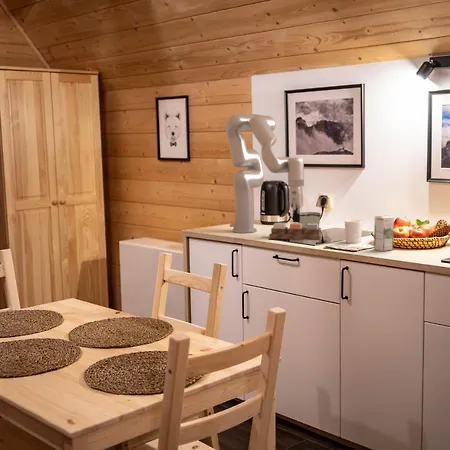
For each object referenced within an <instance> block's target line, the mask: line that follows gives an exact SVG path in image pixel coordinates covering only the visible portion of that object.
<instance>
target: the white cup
mask: <svg viewBox="0 0 450 450" xmlns="http://www.w3.org/2000/svg"><path fill="white" fill-rule="evenodd" d="M363 223H364V221H363V220H362V219H345V220H344V230H345V233H344V234H345V243H347V244H361V243H362V234H363Z"/></svg>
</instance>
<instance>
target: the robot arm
mask: <svg viewBox="0 0 450 450" xmlns="http://www.w3.org/2000/svg"><path fill="white" fill-rule="evenodd" d="M224 127H225V133H226V134H225V135H226V137H227V140H228V146H229V152H230V158H231V163H232V165H233V166H234V167H235V168H238V169H239V170H238V171H235V172H234V173H233V176H232V186H233V192H234V222H230V224H229V227H230V228H231V227H232V230H231V231H232V233H239V234H243V233H244V234H246V233H247V234H248V233H249V234H251V233H256V232H258V231H257V230H258V229H257V228H256V227H254V195H253V193H252V190H251V189H254V188H255V189H256V188H260V187H261V186H262V185H263V184H264V181H265V180H264V169H263V164H262V162H263V163H264V165H265V166H266V169H268V170H269V172H271V173H272V174H287V188H290V189H289V207H290V208H292V223H299V222H300V209H301V208H303V207H304V190H303V188H304V187H305V174H304V173H305V172H304V169H305V167H304V166H305V165H304V164H305V161H304V159H303V158H302V157H290V156H282V157H281V156H279V157H276V155H275V154H274V152H273V150H272V147H273V146H274V145H275V144H276V143H277V140H278V139H277V136H276V135H275V133H274V130H275V129H276V121H275V119H274V118H273V117H272V116H270V115H263V114H254V113H235V114H232V115H230V116H229V117H228V118H227V120H226V121H225V126H224ZM242 131H244V132H247V131H251V133H252V134H253V136H254V137H255V139H256V140H257V141H258V143H259V145H260V146H261V149H260V153H259V152H258V151H257V150H256V149H253V148H248V146H247V143H246V139H245V137H244V135H243V134H242ZM260 155H261V156H260ZM261 160H262V161H261ZM241 168H243V169H241ZM245 168H247V169H245Z"/></svg>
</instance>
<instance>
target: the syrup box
mask: <svg viewBox="0 0 450 450" xmlns="http://www.w3.org/2000/svg"><path fill="white" fill-rule="evenodd" d="M394 224H395V218H394V216H391V215H378V216H374V237H373V238H374V239H373V243H374V244H373V250H374V251H378V252H379V251H380V252H387V251H389V252H390V251H393V250H394V230H395V229H394Z"/></svg>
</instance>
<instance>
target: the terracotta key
mask: <svg viewBox="0 0 450 450" xmlns="http://www.w3.org/2000/svg"><path fill="white" fill-rule="evenodd" d="M289 228H290V229H302V223H299V222H291V223H290V224H289Z"/></svg>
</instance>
